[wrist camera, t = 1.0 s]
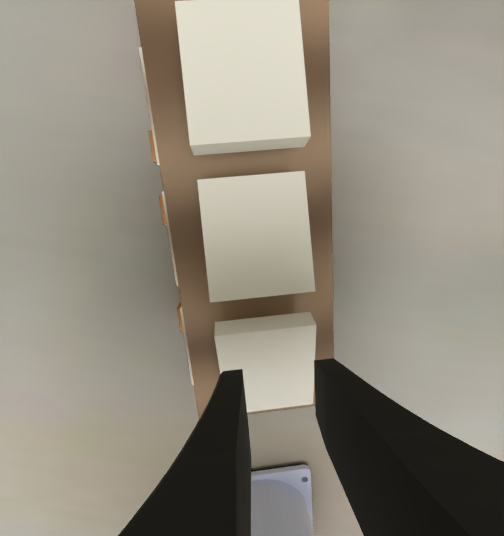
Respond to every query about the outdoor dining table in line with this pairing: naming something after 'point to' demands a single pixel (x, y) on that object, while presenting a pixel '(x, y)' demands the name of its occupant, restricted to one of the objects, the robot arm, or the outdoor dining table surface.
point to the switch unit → (230, 165)
